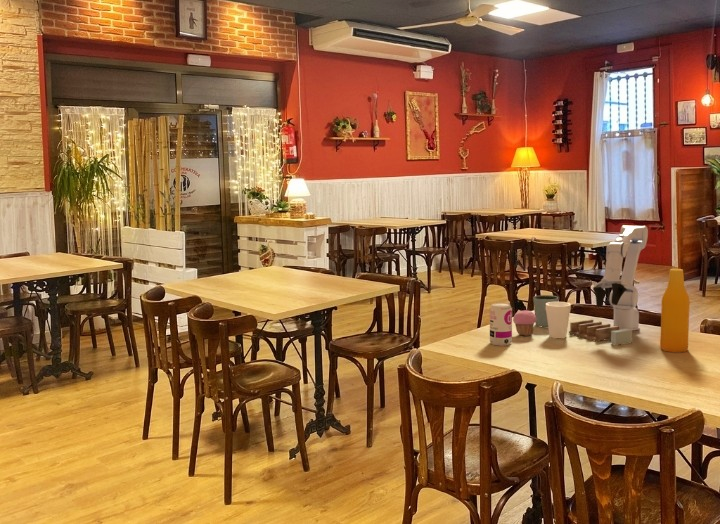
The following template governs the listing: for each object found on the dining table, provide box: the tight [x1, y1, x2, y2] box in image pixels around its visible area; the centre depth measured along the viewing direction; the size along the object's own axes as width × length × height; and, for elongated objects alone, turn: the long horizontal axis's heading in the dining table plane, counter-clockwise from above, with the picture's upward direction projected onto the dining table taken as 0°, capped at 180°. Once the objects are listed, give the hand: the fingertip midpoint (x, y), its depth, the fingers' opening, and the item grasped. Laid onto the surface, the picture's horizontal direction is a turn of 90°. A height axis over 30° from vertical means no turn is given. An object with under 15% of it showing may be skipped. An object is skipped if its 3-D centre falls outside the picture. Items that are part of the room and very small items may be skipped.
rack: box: [568, 319, 619, 342], centre depth 282 cm, size 12×15×4 cm
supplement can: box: [489, 302, 513, 347], centre depth 273 cm, size 8×8×15 cm
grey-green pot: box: [532, 294, 559, 328], centre depth 301 cm, size 10×10×12 cm
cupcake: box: [512, 309, 536, 337], centre depth 285 cm, size 9×9×10 cm
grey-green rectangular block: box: [610, 329, 633, 346], centre depth 269 cm, size 8×2×5 cm, turn 115°
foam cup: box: [546, 301, 572, 339], centre depth 281 cm, size 10×9×13 cm
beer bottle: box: [659, 268, 691, 353], centre depth 257 cm, size 9×9×29 cm
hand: (606, 305), depth 270 cm, fingers open, 7 cm apart
